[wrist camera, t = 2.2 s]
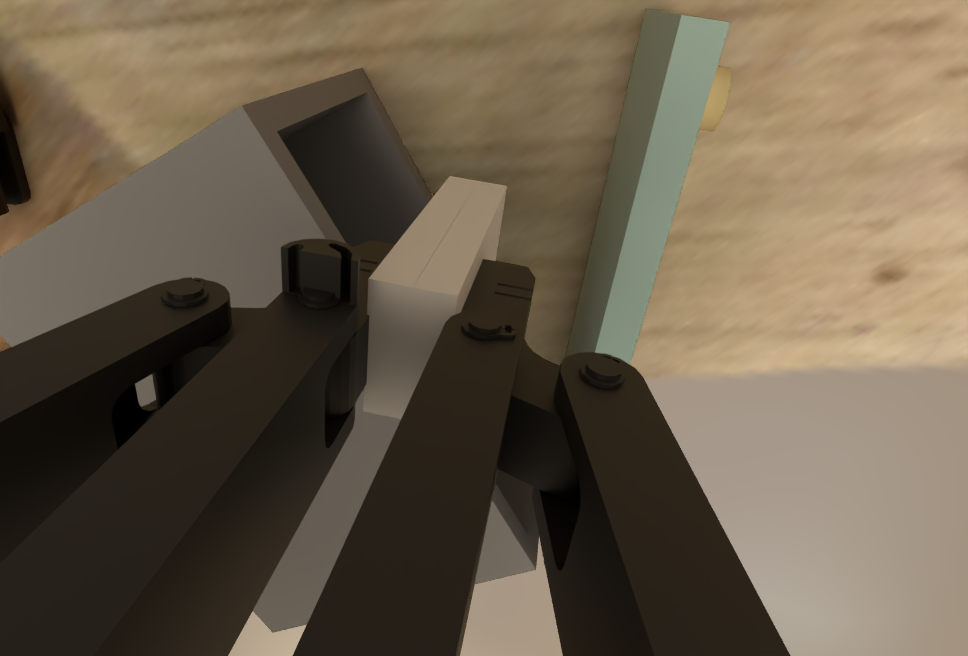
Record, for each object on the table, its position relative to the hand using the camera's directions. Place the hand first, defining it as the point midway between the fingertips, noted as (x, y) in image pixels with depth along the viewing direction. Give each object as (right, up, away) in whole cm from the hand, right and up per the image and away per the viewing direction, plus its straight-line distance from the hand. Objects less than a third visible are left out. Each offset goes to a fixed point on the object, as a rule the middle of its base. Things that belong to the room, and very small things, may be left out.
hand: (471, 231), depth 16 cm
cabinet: (-7, -2, +17) cm, 18 cm away
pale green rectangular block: (+7, +1, +13) cm, 15 cm away
